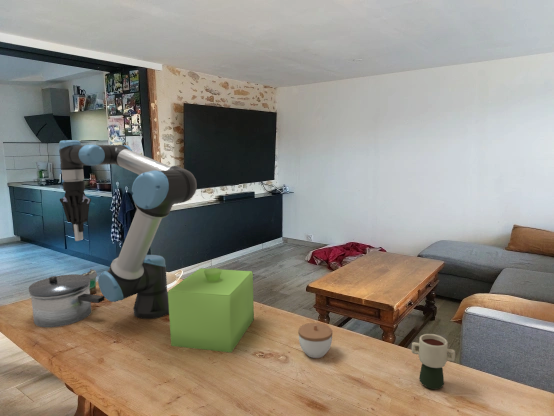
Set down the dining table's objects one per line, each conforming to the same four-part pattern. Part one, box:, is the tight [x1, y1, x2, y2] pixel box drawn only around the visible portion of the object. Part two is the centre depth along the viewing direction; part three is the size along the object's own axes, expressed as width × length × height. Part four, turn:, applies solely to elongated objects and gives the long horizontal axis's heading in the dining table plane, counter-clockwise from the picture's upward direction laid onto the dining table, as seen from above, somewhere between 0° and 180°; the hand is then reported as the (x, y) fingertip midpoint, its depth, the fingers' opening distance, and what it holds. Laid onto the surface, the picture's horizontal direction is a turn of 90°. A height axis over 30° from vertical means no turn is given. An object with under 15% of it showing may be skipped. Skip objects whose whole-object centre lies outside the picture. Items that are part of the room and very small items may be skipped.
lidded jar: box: [297, 322, 333, 359], centre depth 122 cm, size 11×11×9 cm
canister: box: [167, 267, 255, 353], centre depth 137 cm, size 25×21×23 cm
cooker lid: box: [28, 273, 90, 297], centre depth 152 cm, size 21×21×4 cm
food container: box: [81, 268, 98, 295], centre depth 176 cm, size 12×6×10 cm, turn 168°
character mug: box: [411, 333, 456, 390], centre depth 105 cm, size 11×7×13 cm, turn 64°
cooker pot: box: [29, 284, 105, 328], centre depth 151 cm, size 31×21×12 cm
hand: (79, 239), depth 153 cm, fingers closed
